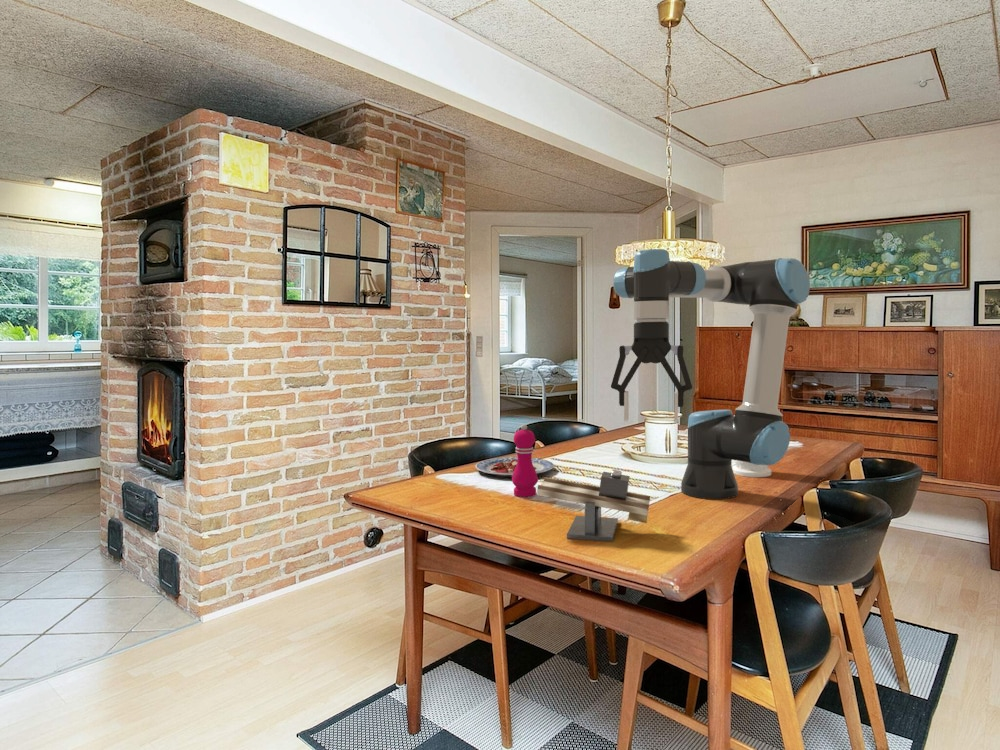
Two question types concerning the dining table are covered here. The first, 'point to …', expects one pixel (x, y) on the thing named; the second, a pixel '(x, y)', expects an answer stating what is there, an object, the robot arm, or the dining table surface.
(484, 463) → the ceramic plate
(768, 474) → the decorative container
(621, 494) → the block
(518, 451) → the pepper mill
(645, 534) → the dining table surface
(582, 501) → the beam
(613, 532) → the stand
